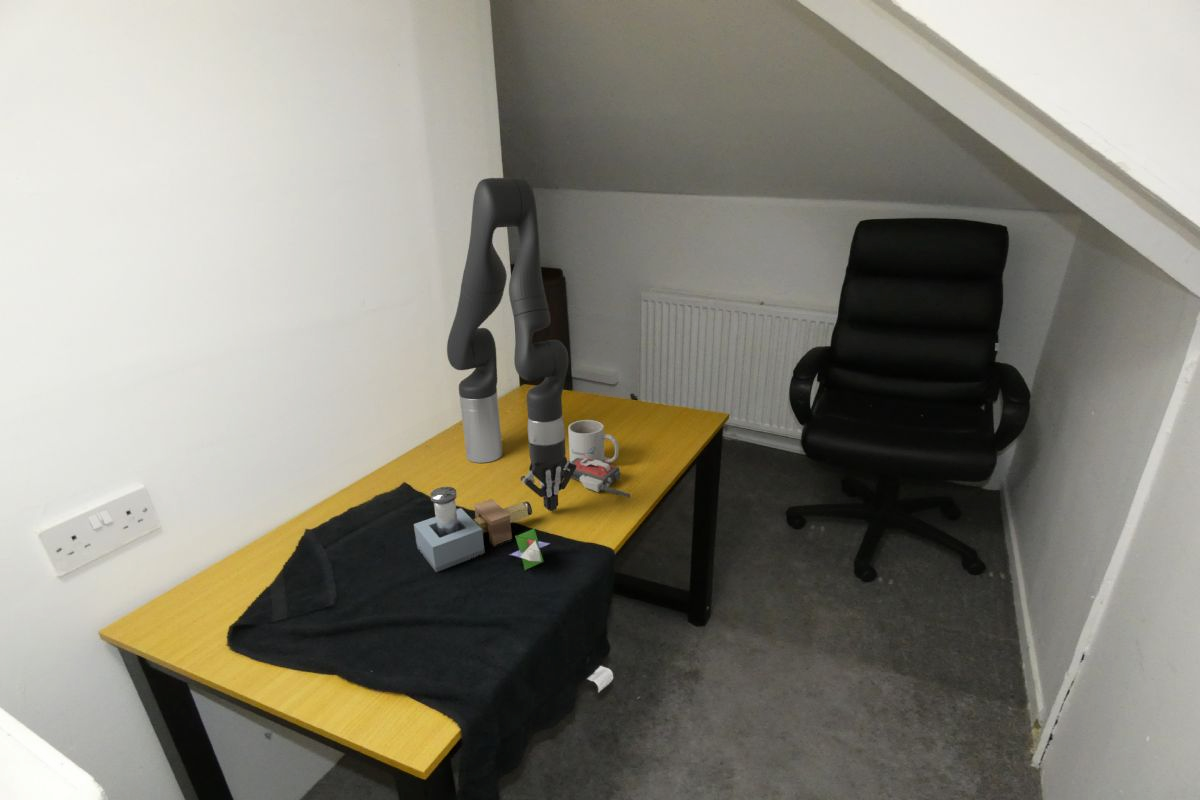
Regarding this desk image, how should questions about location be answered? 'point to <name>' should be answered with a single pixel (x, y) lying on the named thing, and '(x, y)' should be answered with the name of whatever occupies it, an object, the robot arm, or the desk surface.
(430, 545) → the dock socket
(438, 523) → the silver round-topped cylinder
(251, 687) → the desk surface
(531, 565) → the geometric puzzle
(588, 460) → the walkie-talkie
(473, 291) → the robot arm
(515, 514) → the lock pin
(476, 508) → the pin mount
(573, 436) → the mug
